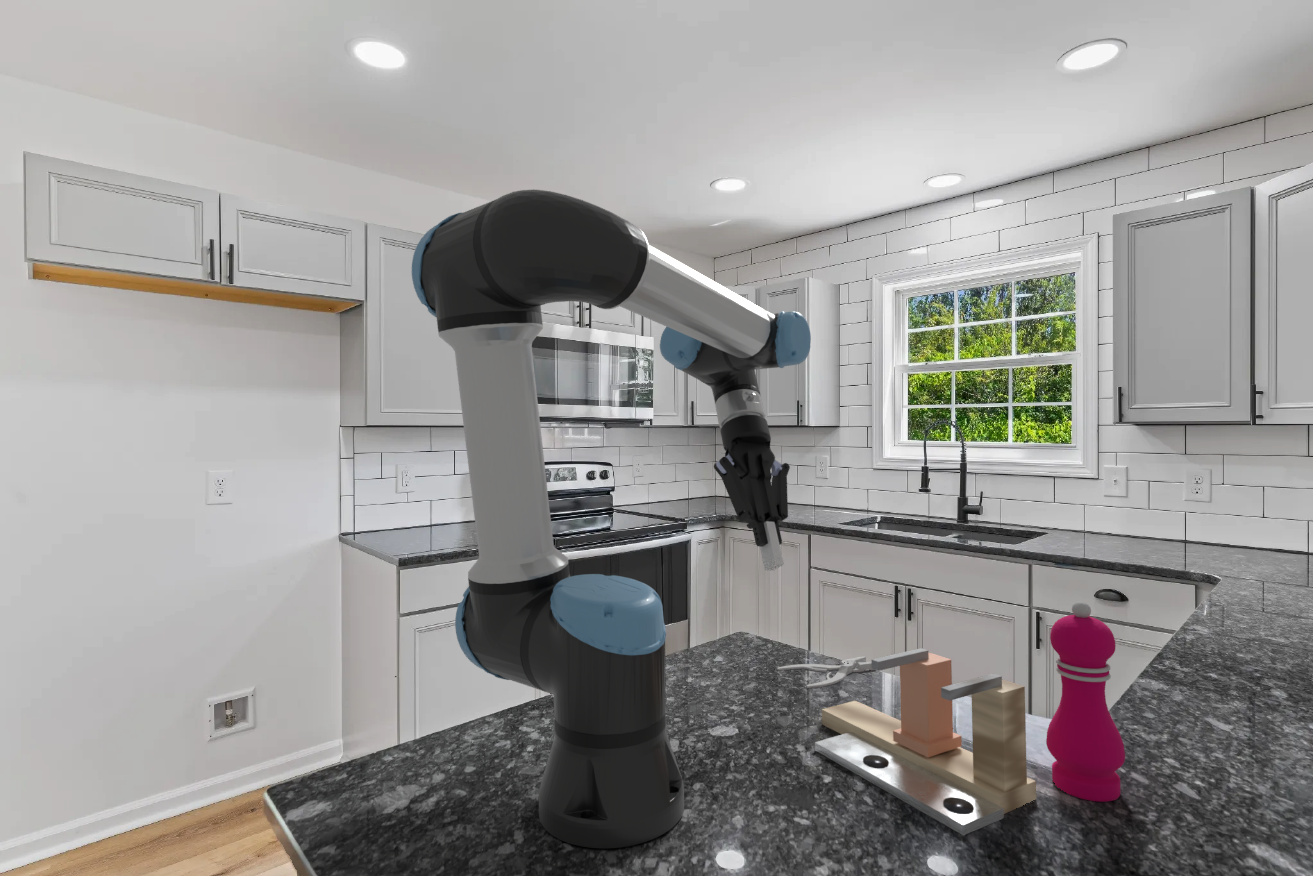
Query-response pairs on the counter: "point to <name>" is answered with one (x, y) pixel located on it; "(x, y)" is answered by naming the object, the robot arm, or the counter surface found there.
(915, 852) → the counter surface
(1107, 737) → the pepper mill
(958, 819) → the hole plate
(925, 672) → the slide leg
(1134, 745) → the counter surface
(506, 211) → the robot arm
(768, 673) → the counter surface
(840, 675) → the pliers
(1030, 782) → the rail
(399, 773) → the counter surface
